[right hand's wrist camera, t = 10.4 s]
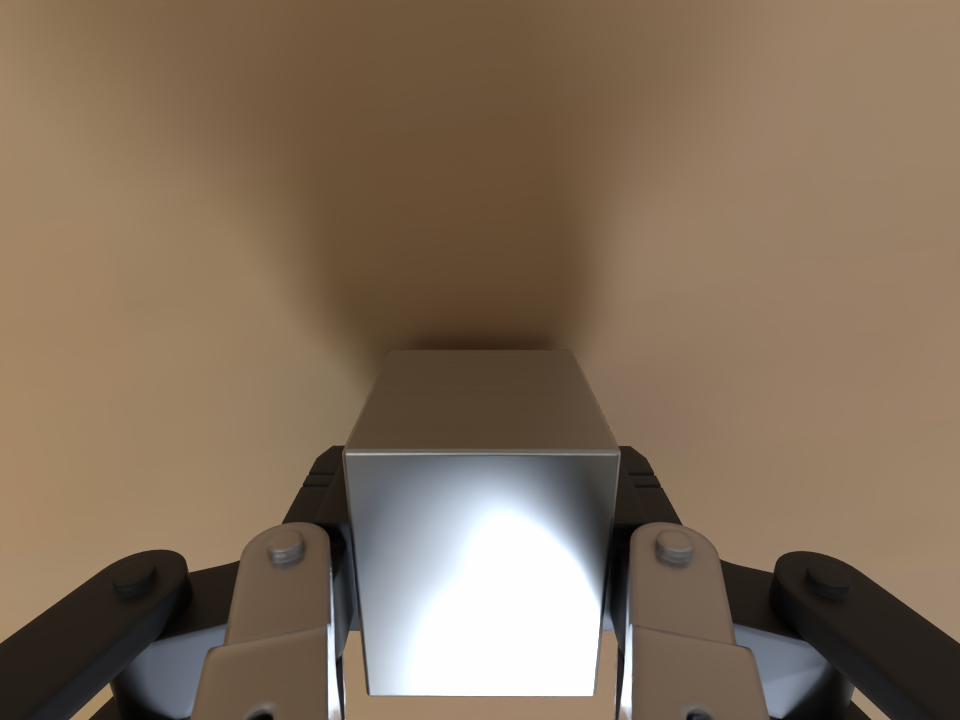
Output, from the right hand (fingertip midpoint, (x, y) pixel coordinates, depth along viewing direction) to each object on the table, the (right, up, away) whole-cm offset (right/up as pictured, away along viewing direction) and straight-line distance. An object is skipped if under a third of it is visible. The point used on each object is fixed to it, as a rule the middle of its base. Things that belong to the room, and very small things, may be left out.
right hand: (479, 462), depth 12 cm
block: (0, 0, 0) cm, 0 cm away
